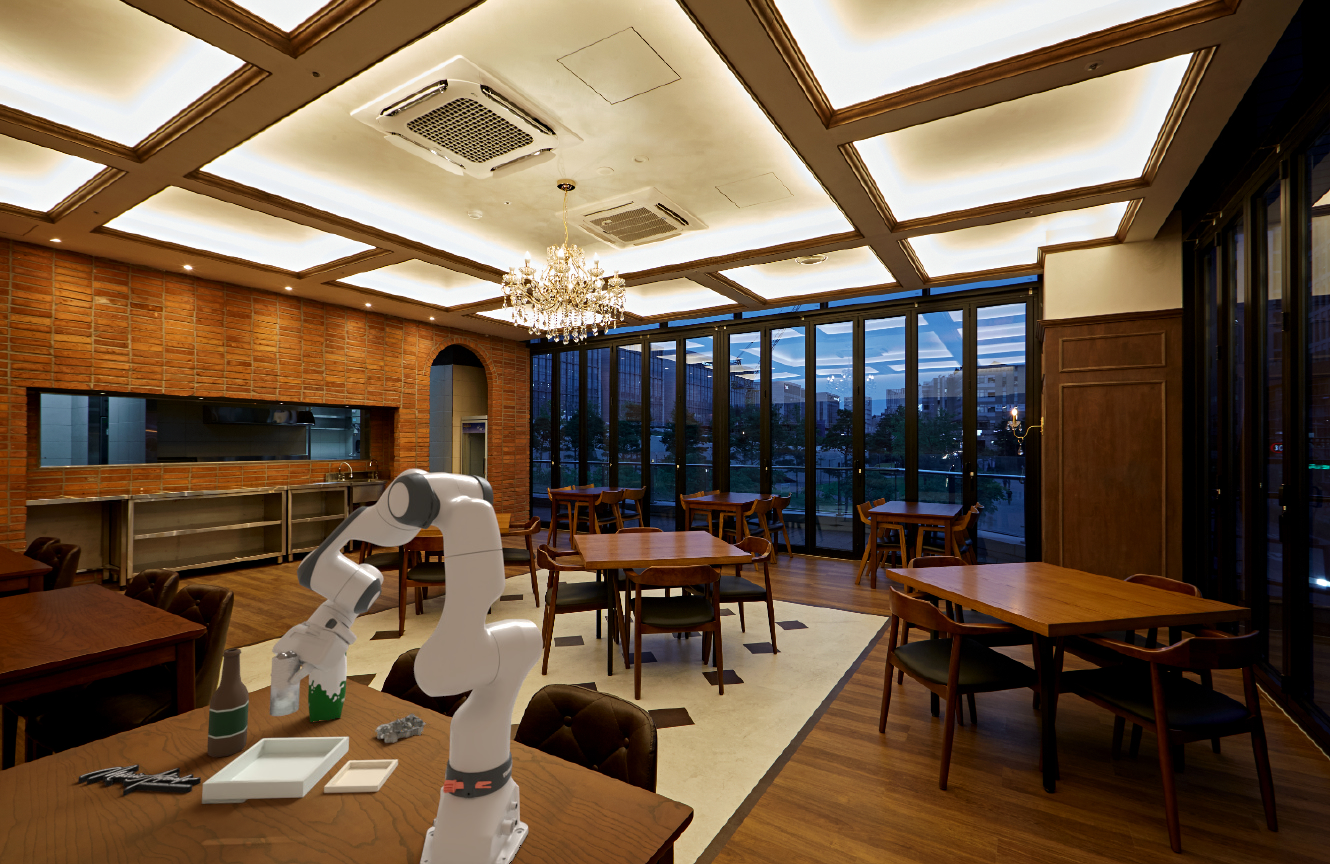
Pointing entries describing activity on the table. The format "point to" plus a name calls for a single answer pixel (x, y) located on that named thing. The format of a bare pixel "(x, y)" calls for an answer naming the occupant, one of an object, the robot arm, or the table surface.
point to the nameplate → (142, 780)
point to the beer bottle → (228, 710)
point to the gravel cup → (284, 684)
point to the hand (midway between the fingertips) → (282, 680)
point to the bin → (275, 769)
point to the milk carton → (327, 692)
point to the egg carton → (400, 728)
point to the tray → (361, 776)
